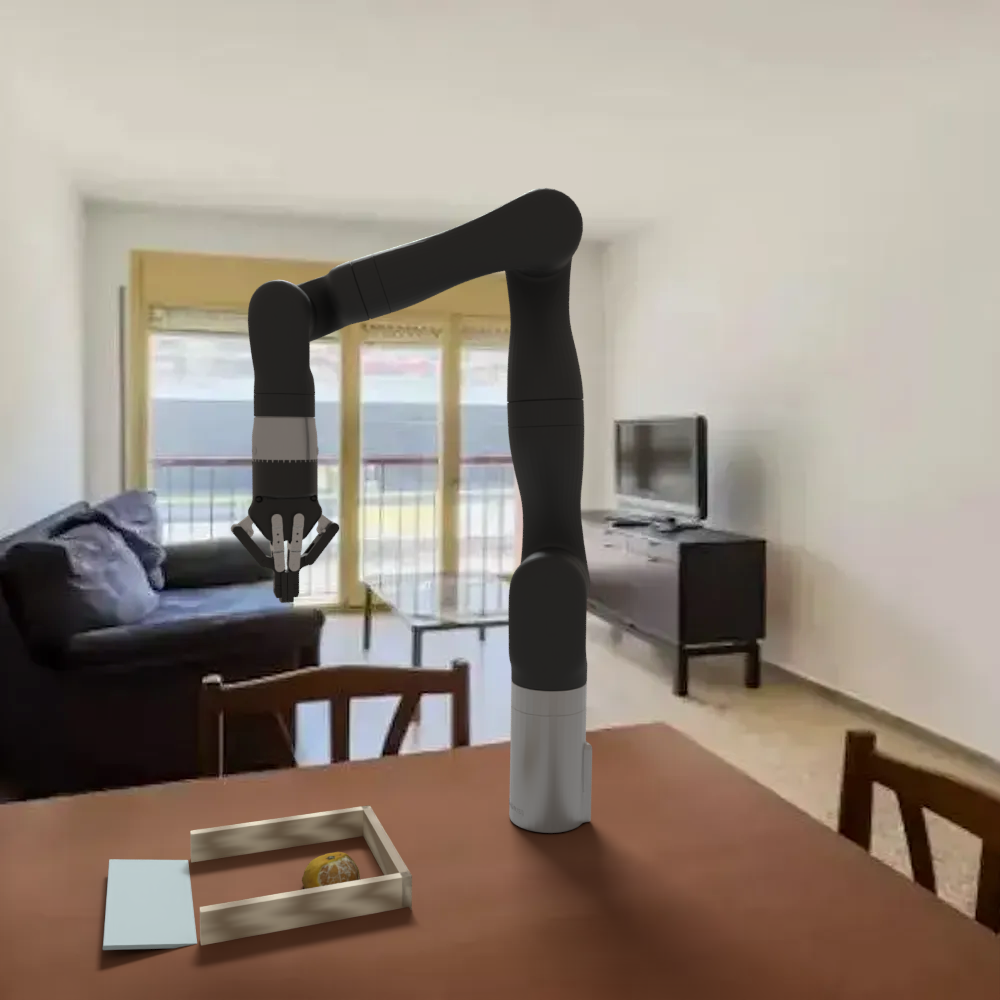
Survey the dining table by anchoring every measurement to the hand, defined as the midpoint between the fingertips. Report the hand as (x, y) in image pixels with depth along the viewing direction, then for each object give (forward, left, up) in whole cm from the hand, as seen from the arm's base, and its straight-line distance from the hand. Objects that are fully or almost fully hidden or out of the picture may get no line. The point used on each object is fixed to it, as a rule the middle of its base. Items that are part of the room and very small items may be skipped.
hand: (286, 601), depth 109 cm
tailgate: (+12, +16, -27) cm, 33 cm away
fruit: (-2, +20, -28) cm, 34 cm away
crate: (+2, +16, -27) cm, 31 cm away
